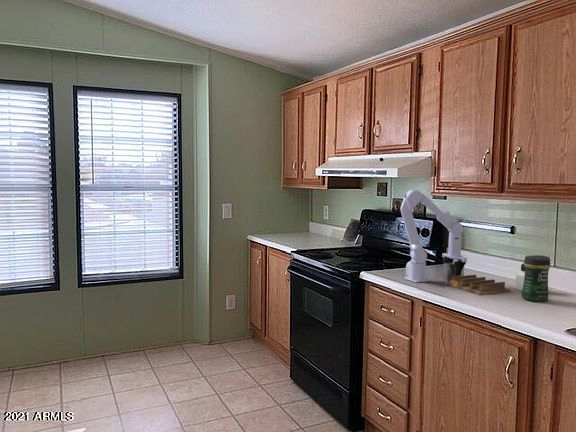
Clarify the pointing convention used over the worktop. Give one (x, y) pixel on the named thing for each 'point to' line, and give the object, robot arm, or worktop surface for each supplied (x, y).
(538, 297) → the coffee jar
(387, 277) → the worktop surface
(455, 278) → the slot rack
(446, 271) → the grey brushed metal block
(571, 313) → the worktop surface
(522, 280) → the medicine bottle
